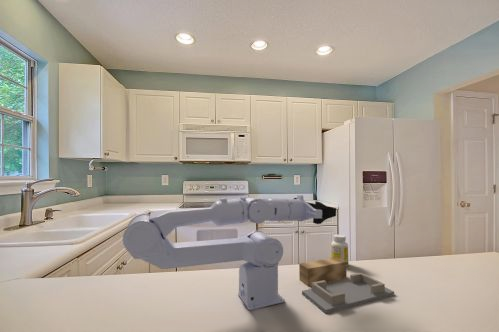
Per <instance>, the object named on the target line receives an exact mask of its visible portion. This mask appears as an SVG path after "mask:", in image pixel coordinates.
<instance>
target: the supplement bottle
mask: <svg viewBox="0 0 499 332" xmlns="http://www.w3.org/2000/svg"><path fill="white" fill-rule="evenodd" d="M346 240H347V238H346V235H344V234H333V241H331V243H330V244H331V245H330V246H331V258H339V259H341V260H343V261H345V262H346V268H347V267H348V266H349V244H348V243H347V242H346Z"/></svg>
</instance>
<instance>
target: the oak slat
mask: <svg viewBox="0 0 499 332" xmlns="http://www.w3.org/2000/svg"><path fill="white" fill-rule="evenodd" d="M298 266H299V277H298V278H299V282H301V283H303V284H304V285H305V286H307V287H311V283H313V282H318V281H322V280H324V281H326V283H330V282H334V281H335V282H336V281H338V280H339V281H340V280H345V279H347V277H348V275H347V267H346V262H345V261H343V260H341V259H339V258H332V257H331V258H325V259H319V260H313V261H307V262H302V263H301V262H300V263H298Z"/></svg>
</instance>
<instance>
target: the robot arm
mask: <svg viewBox="0 0 499 332" xmlns="http://www.w3.org/2000/svg"><path fill="white" fill-rule="evenodd" d="M336 216H337V208H336V207H332V206H330V205H329V206H328V205H325V204H324V203H323V202H320V201H315V203H313V202H307V201H306V200H305V199H304V195H302V194H297V196H296V197H294V198H255V197H248V196H245V197H244V196H242V197H240V198H239V199H229V200H228V198H226V197H222V198H220V199H219V200H216V201H215V202H214V203H212V204H211V206H210V207H209V206H208V207H196V208H194V207H193V208H180V209H179V208H177V209H166V210H165V209H164V210H156V211H151V212H150V214H149V213H140V214H137V215H136V216H133V218H132V219H131V220H130V221H129V222H128V226H127V228H126V229H125V230H124V233H123V234H122V245H123V246H124V248H125V250H126V251H127V252H128V253H129V255H130V256H132V258H133V259H134V260H141V261H144V262H146V263H148V264H150V265H152V266H155V267H156V268H159V269H161V270H169V269H171V270H172V269H177V268H186V267H187V268H188V267H193V266H194V267H195V266H196V267H197V266H205V265H211V264H212V265H213V264H222V263H230V262H240V261H244V262H245V263H242V264H239V265H240V266H239V269H238V292H237V294H238V297H239V298H240V299H241V300H242V302H243V303H244V305H245V306H246V308H247V310H248V311H249V310H250V311H251V310H256V309H261V308H264V307H265V308H266V307H268V306H269V307H270V306H273V305H277V304H282V303H285V302H286V300H285V298H284V297H283V296H282V295H281V294H280V293H279V262H281V261H282V258H283V256H284V246H283V244H282V242H280V240H278V239H277V238H273V237H272V236H270V235H268V234H266V233H264V232H263V231H261V230H254V231H251V232H250V233H249V234H242V235H241V236H239V237H236V238H232V237H231V238H221V239H220V238H219V239H211V240H210V239H209V240H196V241H195V240H194V241H182V242H173V241H171V238H169V237H168V235H170V234H171V233H172V232H173V231H174V230H175V229H176V228H180V227H185V226H192V225H198V224H204V223H209V222H212V223H213V224H214V225H215V226H217V227H222V226H228V225H236V224H243V223H245V222H246V223H247V222H251V223H253V224H257V225H261V224H263V223H264V222H265V221H267V222H287V221H288V222H293V221H294V222H304V221H307V220H312V219H313V220H312V223H313V224H316V225H321V224H322V223H324V222H325V221H326V220H328V219H332V218H334V217H336Z"/></svg>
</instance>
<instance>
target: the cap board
mask: <svg viewBox="0 0 499 332" xmlns="http://www.w3.org/2000/svg"><path fill="white" fill-rule="evenodd" d="M349 277H350V278H349V279H350V280H345V281H342V282H336V283H332V284H327V282H326V281H324V280H322V281H318V282H313V283H311V286H310V287H311V288H308V289H305V290H302V291H301V295H302V296H303V297H305V299H307V300H309V302H311V303H312V304H313V305H314V306H316V307H317V308H318V309H320V310H321V311H322V312H323V313H324V314H328V313H329V314H330V313H332V312H337V311H340V310H344V309H347V308H352V307H354V306H355V307H356V306H359V305H363V304H365V303H371V302H373V301H376V300H380V299H384V298H388V297H391V296H392V297H393V296H395V291H394V290H392V289H390V288H388V287H385V284H386V283H383V282H381V281H380V280H378V279H375V278H373V277H371V276H369V275H367V274H364V273H362V272H357V273H353V274H350V276H349Z"/></svg>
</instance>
